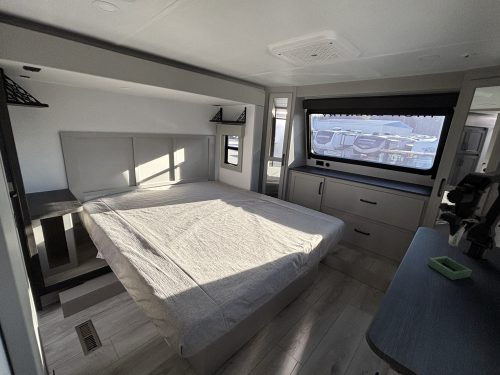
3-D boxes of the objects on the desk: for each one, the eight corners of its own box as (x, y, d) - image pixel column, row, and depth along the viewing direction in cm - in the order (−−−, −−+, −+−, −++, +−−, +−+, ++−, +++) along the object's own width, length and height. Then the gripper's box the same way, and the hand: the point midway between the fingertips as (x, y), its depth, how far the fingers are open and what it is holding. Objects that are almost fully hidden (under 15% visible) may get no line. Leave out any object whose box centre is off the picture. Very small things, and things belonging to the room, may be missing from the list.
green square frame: (443, 261, 99) (445, 256, 99) (469, 276, 90) (472, 270, 89) (427, 264, 97) (429, 258, 96) (452, 279, 88) (454, 273, 87)
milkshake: (465, 247, 96) (471, 226, 93) (451, 247, 96) (457, 226, 94) (456, 241, 100) (461, 221, 97) (443, 241, 101) (449, 221, 98)
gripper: (463, 195, 102) (451, 225, 107) (432, 196, 97) (421, 227, 102) (493, 204, 92) (478, 237, 97) (461, 205, 87) (447, 240, 92)
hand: (455, 235), depth 97 cm, fingers closed on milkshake, 4 cm apart
